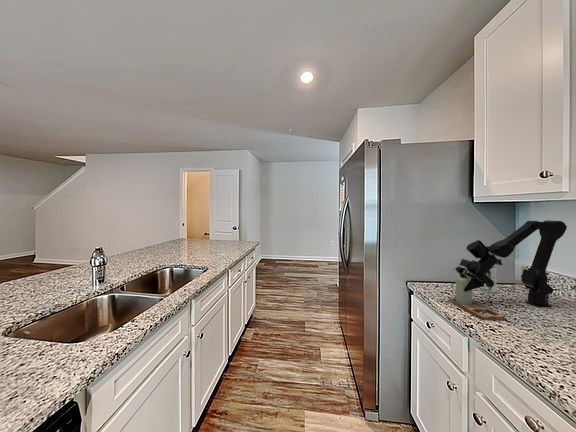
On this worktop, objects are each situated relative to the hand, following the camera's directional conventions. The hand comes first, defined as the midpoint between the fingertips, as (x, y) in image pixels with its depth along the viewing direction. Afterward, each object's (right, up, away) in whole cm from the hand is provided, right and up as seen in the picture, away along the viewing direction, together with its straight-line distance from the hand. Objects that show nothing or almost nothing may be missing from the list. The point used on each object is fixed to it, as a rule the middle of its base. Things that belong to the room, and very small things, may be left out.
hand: (460, 289), depth 121 cm
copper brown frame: (+2, -7, -6) cm, 10 cm away
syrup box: (+26, -6, +18) cm, 33 cm away
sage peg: (+2, -7, 0) cm, 7 cm away
